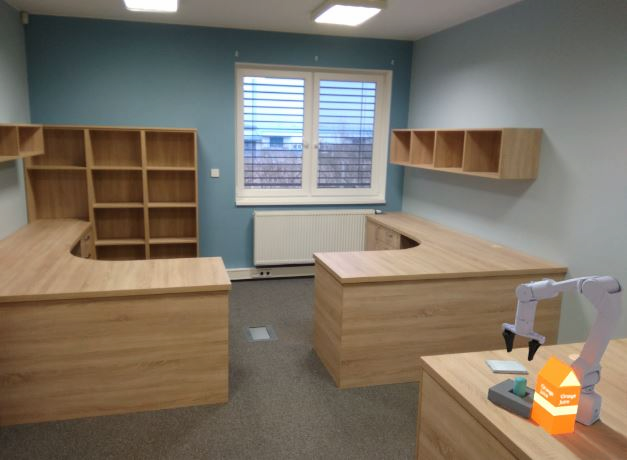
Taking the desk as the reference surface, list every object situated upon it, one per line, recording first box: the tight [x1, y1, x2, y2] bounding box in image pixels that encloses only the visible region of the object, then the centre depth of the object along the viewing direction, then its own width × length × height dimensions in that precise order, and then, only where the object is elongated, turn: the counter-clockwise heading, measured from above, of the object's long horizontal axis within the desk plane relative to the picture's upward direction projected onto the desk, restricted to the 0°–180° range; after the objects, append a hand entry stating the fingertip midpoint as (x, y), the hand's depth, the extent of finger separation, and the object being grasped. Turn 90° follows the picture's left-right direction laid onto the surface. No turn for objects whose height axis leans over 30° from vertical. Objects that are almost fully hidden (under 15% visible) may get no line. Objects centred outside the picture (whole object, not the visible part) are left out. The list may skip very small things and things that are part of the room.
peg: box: [513, 376, 528, 398], centre depth 160 cm, size 4×4×8 cm
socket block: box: [487, 378, 535, 420], centre depth 160 cm, size 14×12×4 cm
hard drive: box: [484, 359, 528, 375], centre depth 185 cm, size 2×8×12 cm
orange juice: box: [530, 355, 581, 436], centre depth 147 cm, size 8×9×20 cm
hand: (519, 355), depth 173 cm, fingers open, 7 cm apart
